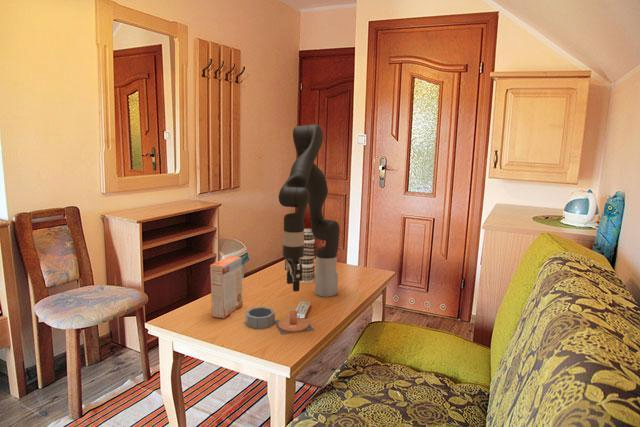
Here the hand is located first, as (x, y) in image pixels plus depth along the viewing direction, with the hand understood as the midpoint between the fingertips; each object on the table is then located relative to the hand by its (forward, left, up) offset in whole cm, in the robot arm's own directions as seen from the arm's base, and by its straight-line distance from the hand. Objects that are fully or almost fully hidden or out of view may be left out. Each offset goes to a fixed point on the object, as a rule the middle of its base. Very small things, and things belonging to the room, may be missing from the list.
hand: (292, 287), depth 155 cm
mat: (0, 0, -15) cm, 15 cm away
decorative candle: (-20, -49, -15) cm, 55 cm away
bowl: (+11, -6, -15) cm, 19 cm away
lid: (0, 0, -15) cm, 15 cm away
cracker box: (+21, -21, -15) cm, 33 cm away
